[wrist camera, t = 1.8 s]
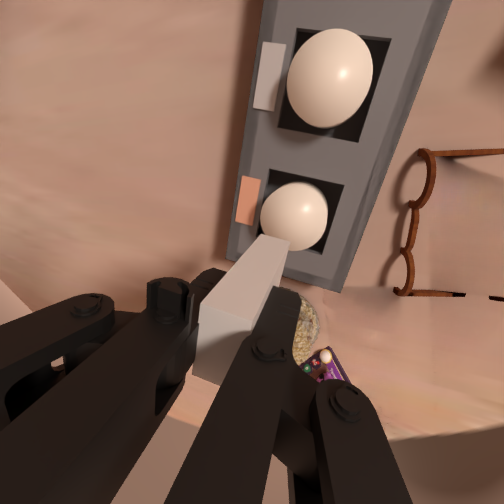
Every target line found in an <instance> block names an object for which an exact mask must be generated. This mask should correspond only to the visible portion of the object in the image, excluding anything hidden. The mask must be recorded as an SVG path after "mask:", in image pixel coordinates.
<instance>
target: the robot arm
mask: <svg viewBox="0 0 504 504" xmlns="http://www.w3.org/2000/svg"><path fill="white" fill-rule="evenodd" d="M289 246H290V241H286V240H282V239H279V238H275V237H271V236H268V235H264V234H260V236H259V237H258V238H257V239H256V240H255V241H254V242H253V244H252V245H251V246H250V247H249V248H248V249H247V250H246V252H245V253H244V254H243V255H242V256H241V257H240V258H239V260H238V261H237V262H236V263H235V264H234V265H233V266H232V268H231V269H230V270H229V271H228V272H225V271H222V270H219V269H216V268H211V269H209V270H206V271H203V272H202V273H201V274H200V275H199V276H198V277H196V279H194V280H193V281H192V282H191V283H189V282H186V281H184V280H182V279H178V278H173V277H163V278H159V279H154V280H152V281H150V282H148V283H147V308H146V309H145V310H144V311H142V312H141V313H134V312H125V311H115V310H114V301H113V300H112V299H111V298H110V297H108V296H106V295H103V294H96V293H90V294H82V295H78V296H75V297H71V298H69V299H66V300H64V301H61V302H59V303H56V304H54V305H51V306H49V307H46V308H43V309H41V310H38V311H36V312H33V313H31V314H28V315H26V316H23V317H21V318H18V319H16V320H13V321H10V322H8V323H5V324H3V325H0V504H110V503H111V502H112V500H113V498H114V497H115V495H116V494H117V492H118V490H119V489H120V487H121V486H122V484H123V482H124V481H125V479H126V478H127V476H128V474H129V473H130V471H131V470H132V468H133V467H134V465H135V463H136V462H137V460H138V459H139V457H140V456H141V454H142V452H143V451H144V449H145V448H146V446H147V445H148V443H149V441H150V440H151V438H152V437H153V435H154V433H155V432H156V430H157V429H158V427H159V425H160V424H161V422H162V421H163V419H164V418H165V416H166V414H167V413H168V411H169V410H170V408H171V406H172V405H173V403H174V402H175V400H176V399H177V397H178V395H179V394H180V392H181V391H182V389H183V386H184V383H185V376H186V373H187V371H188V370H189V368H190V367H191V365H192V364H193V369H192V375H194V376H197V377H199V378H202V379H204V380H207V381H209V382H212V383H214V384H217V385H219V386H220V388H219V390H218V393H217V395H216V397H215V399H214V401H213V403H212V405H211V407H210V409H209V411H208V413H207V415H206V417H205V419H204V421H203V423H202V426H201V428H200V430H199V432H198V434H197V436H196V438H195V440H194V442H193V444H192V446H191V448H190V450H189V453H188V454H187V457H186V459H185V461H184V463H183V465H182V467H181V469H180V471H179V473H178V475H177V477H176V479H175V481H174V483H173V485H172V487H171V489H170V492H169V494H168V496H167V498H166V500H165V502H164V504H262V500H263V495H264V490H265V485H266V480H267V475H268V470H269V466H270V460H271V455H272V454H273V455H275V456H276V457H277V458H278V459H279V460H280V461H281V462H282V463H283V464H285V465H286V466H287V473H288V489H289V504H413V503H412V500H411V498H410V495H409V493H408V491H407V488H406V485H405V483H404V480H403V478H402V475H401V473H400V470H399V468H398V465H397V463H396V460H395V458H394V455H393V453H392V450H391V448H390V445H389V443H388V440H387V438H386V435H385V432H384V430H383V427H382V425H381V422H380V420H379V417H378V415H377V412H376V410H375V408H374V407H373V405H372V403H371V401H370V400H369V398H368V397H367V396H366V395H365V394H364V393H363V392H362V391H361V390H360V389H358V388H357V387H355V386H354V385H352V384H351V383H349V382H346V381H343V380H340V379H327V380H325V381H323V382H321V383H319V382H318V381H316V380H315V379H313V378H312V377H310V376H309V375H308V374H307V373H305V372H304V371H303V370H302V369H301V368H300V367H299V366H298V364H297V363H296V361H295V359H294V357H293V353H292V346H293V342H294V337H295V332H296V328H297V323H298V318H299V313H300V309H301V304H302V301H301V299H300V296H299V294H298V293H296V292H293V291H289V290H286V289H283V288H280V287H279V284H280V280H281V276H282V273H283V269H284V265H285V261H286V257H287V253H288V250H289ZM61 356H63V362H64V364H62V365H59V366H57V367H51V362H52V361H54V360H56V359H58V358H60V357H61Z"/></svg>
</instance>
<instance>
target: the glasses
mask: <svg viewBox="0 0 504 504" xmlns="http://www.w3.org/2000/svg"><path fill="white" fill-rule="evenodd" d="M482 154H504V149H476V150H449V151H430V150H429V149H425V148H422V149H419V151H418V156H421V157H423V159H424V160H425V162H426V166H427V178H426V183H425V187H424V190H423V192H422V194H421V196H420V197H419V199H418V200H416V201H413V200H409V207H410V208H412V215H411V222H410V228H409V233H408V238H407V243H406V246H405V248H403V247H401V250H400V253H401V254H402V255H403V256H404V257H405V260H406V264H407V279H406V283H405V286H404V288H403V289H402V290H401V289H399V288H398V287H394V289H393V292H394V293H395V294H396V295H397V296H436V297H465V295H466V293H457V292H446V291H436V290H411V289H412V287H413V283H414V277H415V266H414V260H413V255H412V253H411V252H410V251H411V250H412V248H413V246H414V243H415V239H416V234H417V229H418V224H419V209H420V208H422V207H423V206H424V205H425V204H426V202H427V201H428V199H429V197H430V196H431V193H432V190H433V187H434V184H435V178H436V160H435V157H434V156H456V155H482ZM489 299H490V300H495V301H503V302H504V298H502V297H494V296H489Z"/></svg>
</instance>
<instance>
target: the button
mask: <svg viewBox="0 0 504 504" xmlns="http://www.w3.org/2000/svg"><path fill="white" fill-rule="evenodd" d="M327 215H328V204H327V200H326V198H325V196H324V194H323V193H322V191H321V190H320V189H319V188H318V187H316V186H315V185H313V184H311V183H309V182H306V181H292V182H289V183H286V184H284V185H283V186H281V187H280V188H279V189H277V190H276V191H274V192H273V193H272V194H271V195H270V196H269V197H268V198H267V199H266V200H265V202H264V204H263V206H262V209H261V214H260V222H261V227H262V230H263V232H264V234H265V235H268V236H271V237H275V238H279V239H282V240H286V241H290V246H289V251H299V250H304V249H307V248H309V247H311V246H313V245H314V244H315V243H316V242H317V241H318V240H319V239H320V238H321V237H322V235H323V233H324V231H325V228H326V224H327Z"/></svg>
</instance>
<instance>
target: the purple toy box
mask: <svg viewBox="0 0 504 504" xmlns="http://www.w3.org/2000/svg"><path fill="white" fill-rule="evenodd" d="M319 357H320V358H319ZM332 358H333V360H334V362H335V364H336V366H337V367H338V369H339V371H340V373H341V375H342V376H343V378H344V380H345V381H346V382H349V383H351V382H350V380H349V379H348V377H347V375H346V373H345V371H344V370H343V368H342V366H341V364H340V362H339V361H338V359H337V357H336V355H335V353H334V352H333V350H332V348H330V347H329V346H328V347H326V348H324V349H323V350H321V351H320V352H318V353H316V354H315V355H313V356H312V357H310V358H309V359H308V360H306V361H305V362H304V363H302V364H301V365H300V366H299V367H300V368H301V369H303V371H304V372H305V373H307V374H308V375H310V374H311V373H312V372H313V371H312V367H313V368H315V369H318V368H319V367H321V361H322V362H323V363H325V364H326V365H327V367H328V369H329V372H328V371H327V372H326V373H324V374H323V373H322V374H320V375H319V377H318V379H317V381H318V382H319V383H321V382H323V381H325V380H327V379H340V380H342V378H341V376H340V374H339V372H338V371H337V369H336V367H335V365H334V363H333V361H332ZM310 363H311V364H310Z"/></svg>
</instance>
